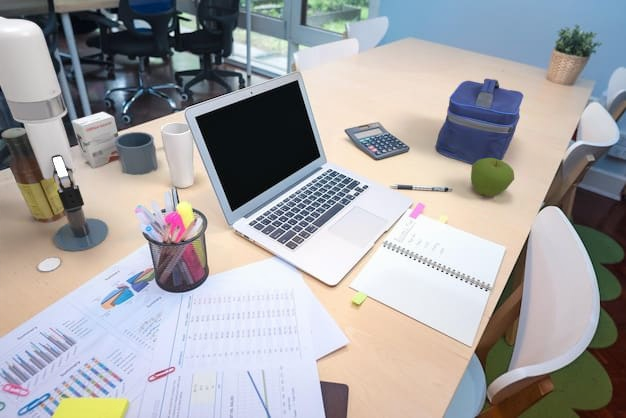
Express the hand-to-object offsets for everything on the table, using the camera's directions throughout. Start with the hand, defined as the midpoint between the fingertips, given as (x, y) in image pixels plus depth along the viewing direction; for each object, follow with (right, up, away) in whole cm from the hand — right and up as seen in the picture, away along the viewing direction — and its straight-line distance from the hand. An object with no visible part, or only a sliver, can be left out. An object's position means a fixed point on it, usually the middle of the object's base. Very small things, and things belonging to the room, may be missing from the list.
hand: (69, 193), depth 73 cm
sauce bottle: (-11, -5, +11) cm, 16 cm away
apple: (+93, +1, +35) cm, 99 cm away
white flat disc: (-3, -14, -1) cm, 14 cm away
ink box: (-10, +10, +31) cm, 34 cm away
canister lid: (-1, -8, +6) cm, 10 cm away
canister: (0, +8, +29) cm, 30 cm away
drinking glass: (+13, +3, +25) cm, 29 cm away
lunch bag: (+98, +18, +58) cm, 115 cm away
